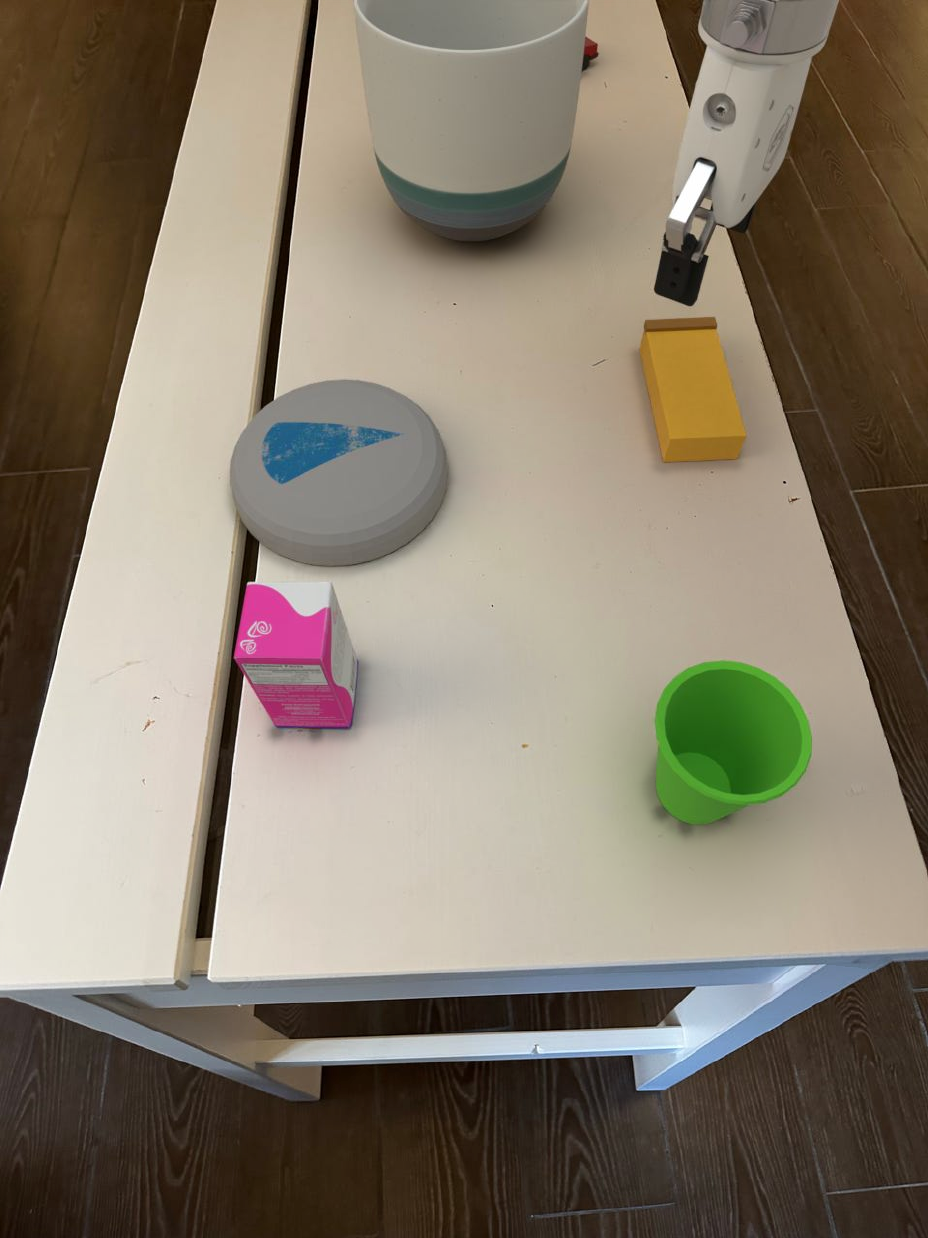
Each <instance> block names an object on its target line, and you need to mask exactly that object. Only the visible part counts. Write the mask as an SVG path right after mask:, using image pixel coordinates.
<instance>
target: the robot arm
mask: <svg viewBox="0 0 928 1238" xmlns="http://www.w3.org/2000/svg"><path fill="white" fill-rule="evenodd" d="M839 2H840V0H703V1H702V7H701V12H700V16H699V21H698V25H697V29H698V30H697V32H698V35H699V37H700V39H701V40H702V41H703V43H704V44H705V45H706V49H705V51H704V54H703V59H702V62H701V65H700V69H699V71H698V72H699V73H698V76H697V80H696V82H695V85H694V86H695V87H694V90H693V94H692V99H691V101H690V106H689V110H688V114H687V118H686V121H685V125H684V129H683V134H682V138H681V141H680V145H679V150H678V154H677V159H676V163H675V168H674V173H673V179H672V184H671V190H670V191H671V192H670V202H671V204H670V205H671V206H672V209H671V211H670V213H669V215H668V217H667V219H666V222H665V232H664V233H663V237H662V238H663V239H662V241H663V242H662V243H661V254H660V257H659V262H658V268H657V272H656V277H655V282H654V286H653V291H654V293H655V294H656V295H657V296H660V297H663V298H665V299H668V300H670V301H672V302H676V303H679V304H681V305H684V306H687V307H693V306H694V305H695V304H696V302H697V301H698V298H699V294H700V291H701V288H702V287H701V286H702V283H703V279H704V276H705V272H706V268H707V265H708V260H709V257H710V256H709V255H708V254H705V253H706V251H707V248H708V246H709V244H710V241H711V239H712V237H713V235H714V232H715V230H716V227H717V226H719V227H722V228H725V229H728V230H730V231H734V232H736V233H739V234H745V233H746V232H747V231H748V230H749V229H750V226H751V222H752V219H753V216H754V212H755V210H756V206H757V204H758V203H757V202H758V200H759V198H760V197H761V195H762V194H763V192H764V191H765V190H766V189H767V187H768V186H769V184H770V183H771V181H772V180H773V178H775V176H776V174H777V173H778V171H779V170H780V168H781V166H782V163H783V162H784V159H785V157H786V154H787V151H788V147H789V144H790V140H791V137H792V133H793V129H794V125H795V122H796V118H797V116H798V112H799V108H800V105H801V100H802V98H803V93H804V90H805V87H806V83H807V79H808V75H809V71H810V67H811V63H812V59H813V57H814V56H815V55H816V54H818V53H819V52H821V50H822V49H823V48H824V47H825V45H826V43H827V40H828V37H829V34H830V30H831V28H832V23H833V21H834V19H835V15H836V11H837V9H838V5H839ZM704 199H705V200H708V201H711V204H710V209H708V208H705V207H702V206H701V205H702V203H703V201H704ZM695 218H696V219H698V220H701V221H704V222H705V223H704V225H703V227H702V230H701V231H700V235H699V237H698V239H697V237H696V236H695V234H693V233H691V231H692V229H693V228H692V225H693V221H694V219H695Z"/></svg>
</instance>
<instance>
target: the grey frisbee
mask: <svg viewBox="0 0 928 1238" xmlns="http://www.w3.org/2000/svg"><path fill="white" fill-rule="evenodd" d="M446 452H447V451H446V448H445V445H444V442H443V439H442V437H441V434H440V431H439V429H438V427H437V426H436V425H435V423H434V421H433V419H432V418H431V416H429V414H428V413H427V412H426V411H425V410H424V409H423V408H422V407H421V406H420V405H419V404H417V403H416V402H414V401H413V400H411V399H410V397H407V396H406V395H405V394H402V393H400V392H398V391H397V390H394V389H392V388H390V387H387V386H385V385H383V384H379V383H375V382H372V381H366V380H360V379H334V380H323V381H318V382H314V383H309V384H305V385H303V386H300V387H297V388H294V389H291V390H290V391H287V392H285V393H284V394H282V395H279V396H277V397H276V398H275V399H273V400H272V401H270V402H269V403H267V404H266V405H265V406H263V408H261V409H260V411H258V412H257V413H256V414H254V416H253V417H252V419H251V420H250V421H249V422H248V424H247V425H246V426H245V428H244V429H243V430H242V432H241V433H240V435H239V437H238V439H237V441H236V443H235V445H234V447H233V451H232V455H231V458H230V465H229V484H230V491H231V496H232V500H233V503H234V506H235V508H236V510H237V512H238V515H239V516H240V519H241V522H242V523H243V525H244V526H245V527H246V529H247V530H248V532H249V533H250V534H251V535H252V536H253V537H254V538H255V539H256V540H257V541H258V542H259V543H260V544H262V545H263V546H264V547H266V548H268V549H269V550H271V551H272V552H274V553H276V554H278V555H280V556H282V557H285V558H287V559H289V560H292V561H295V562H299V563H304V564H309V565H313V566H323V567H324V566H325V567H326V566H327V567H339V566H350V565H357V564H360V563H366V562H369V561H374V560H376V559H378V558H381V557H383V556H386V555H388V554H392V553H393V552H395V551H396V550H398V549H400V548H402V547H403V546H405V545H407V544H408V543H409V542H410V541H412V540H413V539H414V538H416V537H417V536H418V535H419V534H420V533H422V532H423V531H424V529H425V528H426V527H427V526H428V525H429V523H431V521H432V520H433V519H434V517H435V516H436V514H437V512H438V511H439V509H440V507H441V505H442V503H443V500H444V497H445V495H446V491H447V486H448V485H447V484H448V478H449V471H448V469H449V467H448V459H447V453H446Z"/></svg>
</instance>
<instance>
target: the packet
mask: <svg viewBox="0 0 928 1238" xmlns="http://www.w3.org/2000/svg"><path fill="white" fill-rule="evenodd" d="M717 328H718V322H717V318H716V317H715V316H705V317H703V316H701V317H682V318H679V317H678V318H657V319H656V318H655V319H645V320H644V322H643V331H642V335H641V341H640V345H639V355H640V359H641V363H642V369H643V374H644V378H645V383H646V388H647V392H648V397H649V402H650V406H651V411H652V415H653V420H654V425H655V430H656V434H657V438H658V443H659V448H660V449H659V450H660V453H661V459H662V463H677V462H678V463H679V462H680V463H681V462H702V461H703V462H704V461H722V460H725V461H726V460H738V458H739V456H740V453H741V451H742V448H743V446H744V443H745V440H746V439H747V432H746V428H745V425H744V421H743V418H742V414H741V411H740V407H739V403H738V400H737V397H736V394H735V390H734V386H733V383H732V378H731V376H730V372H729V369H728V365H727V361H726V358H725V355H724V351H723V347H722V344H721V341H720V336H719V333H718V330H717Z"/></svg>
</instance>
